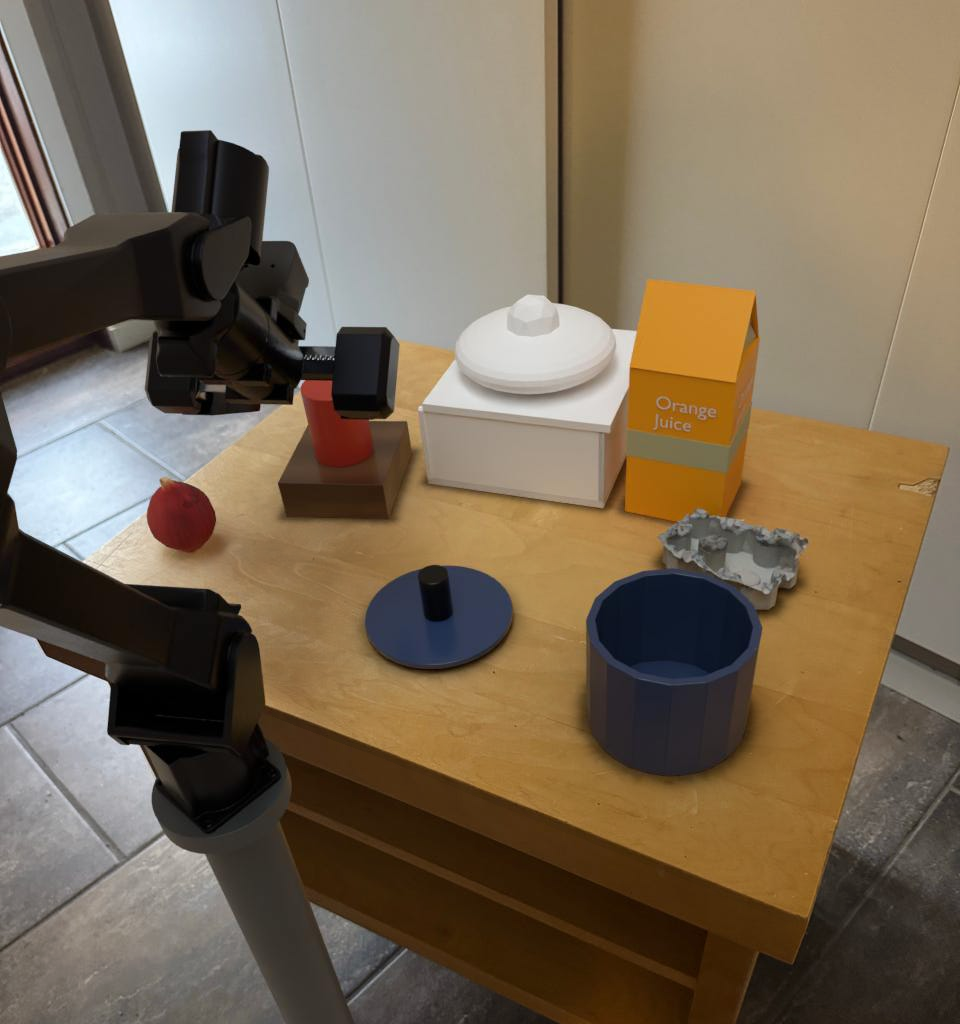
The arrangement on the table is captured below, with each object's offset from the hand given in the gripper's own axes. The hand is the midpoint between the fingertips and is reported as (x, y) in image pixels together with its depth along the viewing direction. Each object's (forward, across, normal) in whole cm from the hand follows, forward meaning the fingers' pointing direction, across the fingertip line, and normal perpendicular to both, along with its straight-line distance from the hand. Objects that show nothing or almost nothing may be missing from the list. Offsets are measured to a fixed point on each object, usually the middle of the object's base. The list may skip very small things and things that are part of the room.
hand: (311, 406), depth 79 cm
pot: (-3, -30, +23) cm, 38 cm away
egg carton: (+8, -35, +11) cm, 37 cm away
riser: (+15, +1, +3) cm, 16 cm away
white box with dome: (+21, -17, -3) cm, 27 cm away
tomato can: (+12, +1, 0) cm, 13 cm away
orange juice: (+15, -31, +3) cm, 34 cm away
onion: (+8, +13, +12) cm, 19 cm away
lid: (+2, -12, +16) cm, 20 cm away
